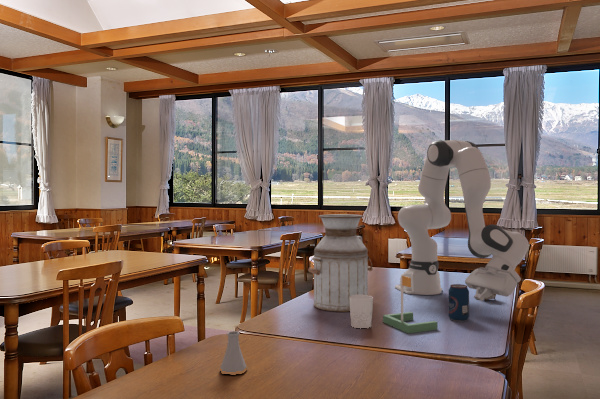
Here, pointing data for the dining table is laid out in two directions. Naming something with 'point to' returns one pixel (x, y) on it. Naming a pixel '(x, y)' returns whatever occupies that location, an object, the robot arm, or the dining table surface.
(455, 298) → the soda can
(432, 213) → the robot arm
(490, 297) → the game die
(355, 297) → the white cup
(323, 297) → the milk can
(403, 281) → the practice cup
